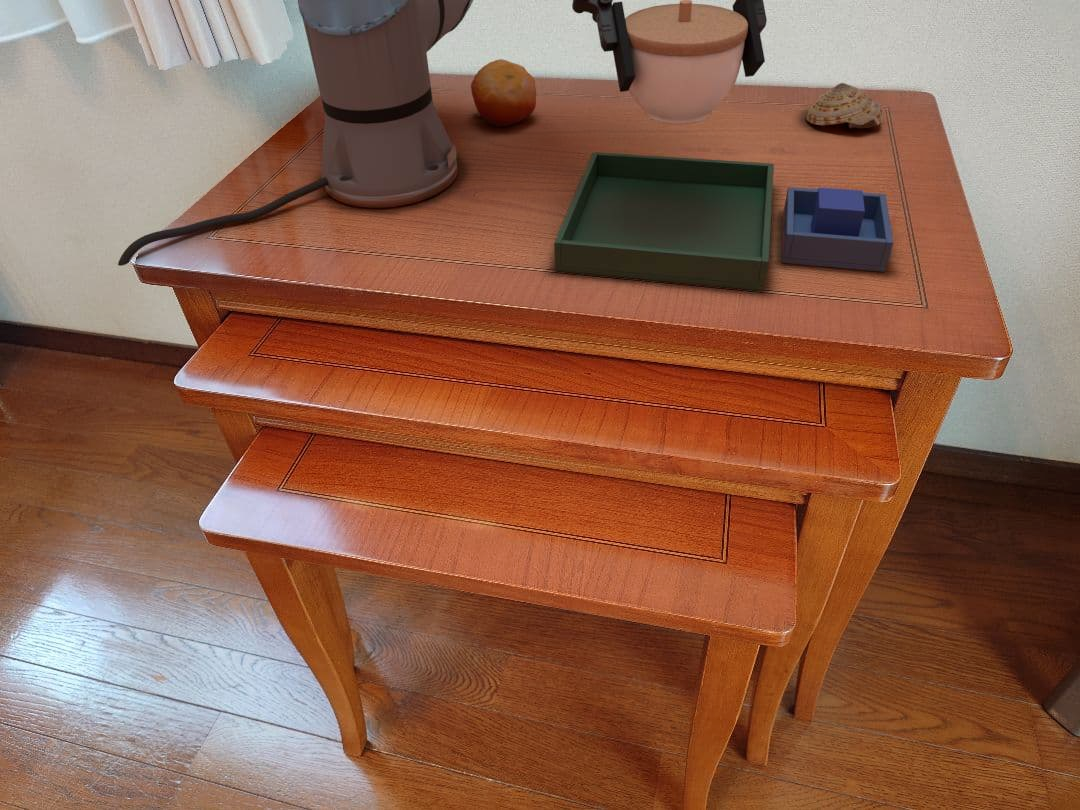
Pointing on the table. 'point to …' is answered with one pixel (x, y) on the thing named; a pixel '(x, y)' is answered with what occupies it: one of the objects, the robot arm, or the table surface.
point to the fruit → (503, 93)
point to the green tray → (670, 221)
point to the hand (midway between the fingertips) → (691, 76)
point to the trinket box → (684, 59)
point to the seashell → (845, 108)
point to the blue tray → (836, 249)
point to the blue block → (838, 212)
